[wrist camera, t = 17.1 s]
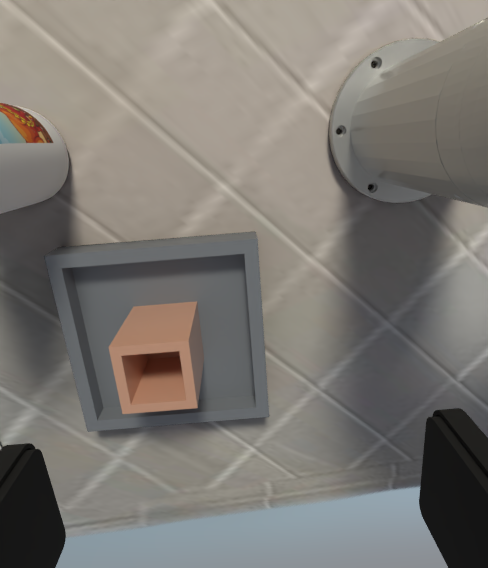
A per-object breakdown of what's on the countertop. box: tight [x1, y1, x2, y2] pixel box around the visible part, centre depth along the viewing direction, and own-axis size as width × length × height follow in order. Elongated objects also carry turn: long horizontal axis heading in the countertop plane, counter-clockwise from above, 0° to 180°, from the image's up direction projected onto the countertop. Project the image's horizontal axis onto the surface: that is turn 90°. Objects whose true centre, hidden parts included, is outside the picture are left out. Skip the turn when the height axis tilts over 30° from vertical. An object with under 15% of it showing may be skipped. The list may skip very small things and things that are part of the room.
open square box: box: [109, 301, 204, 414], centre depth 35 cm, size 6×6×8 cm
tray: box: [44, 232, 269, 432], centre depth 38 cm, size 18×18×3 cm
